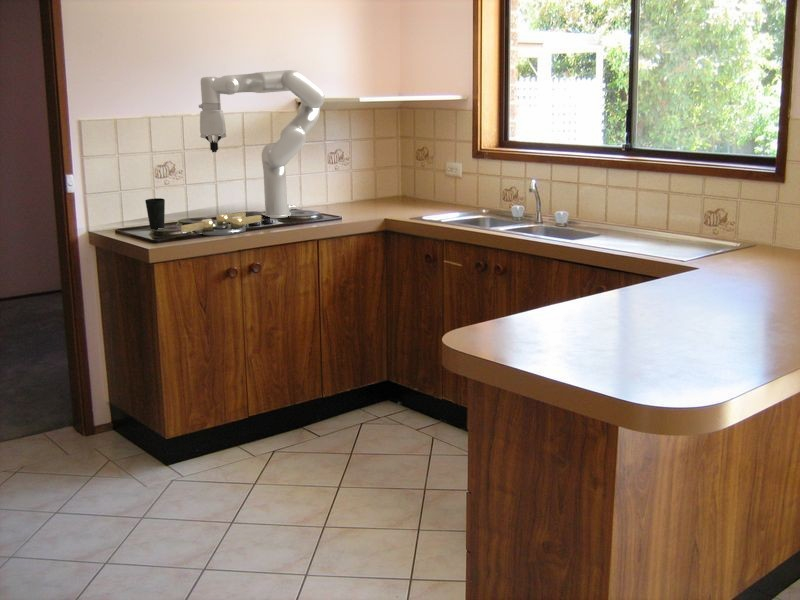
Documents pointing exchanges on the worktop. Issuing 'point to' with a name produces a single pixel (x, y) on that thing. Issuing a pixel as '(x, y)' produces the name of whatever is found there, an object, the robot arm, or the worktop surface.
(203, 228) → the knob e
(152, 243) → the worktop surface
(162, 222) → the cup
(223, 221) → the knob
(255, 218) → the brass lever handle
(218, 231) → the tribrach plate
